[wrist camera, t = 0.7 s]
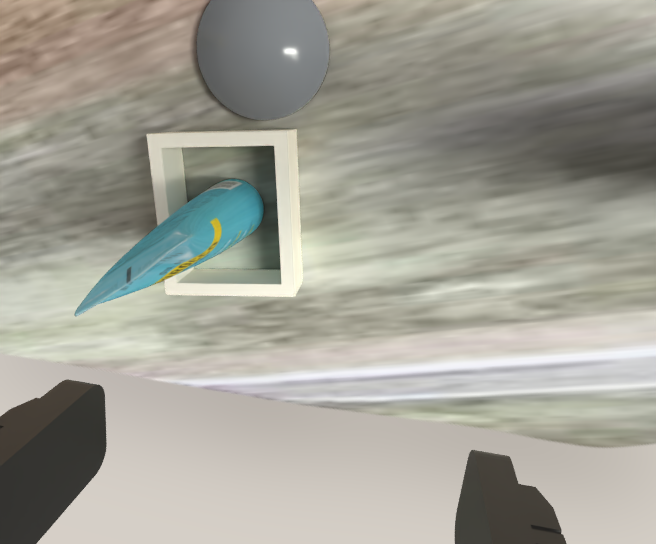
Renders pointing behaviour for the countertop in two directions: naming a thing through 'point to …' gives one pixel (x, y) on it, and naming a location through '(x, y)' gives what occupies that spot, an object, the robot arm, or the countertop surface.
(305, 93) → the grey round disc
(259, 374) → the countertop surface
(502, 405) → the countertop surface
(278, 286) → the white open box
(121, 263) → the tube
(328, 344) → the countertop surface
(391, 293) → the countertop surface
